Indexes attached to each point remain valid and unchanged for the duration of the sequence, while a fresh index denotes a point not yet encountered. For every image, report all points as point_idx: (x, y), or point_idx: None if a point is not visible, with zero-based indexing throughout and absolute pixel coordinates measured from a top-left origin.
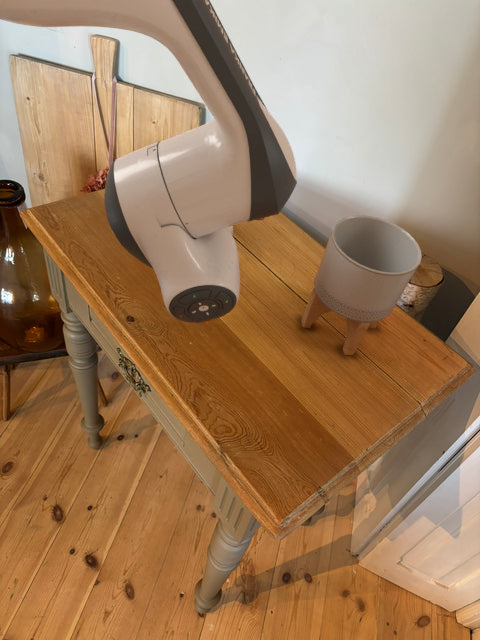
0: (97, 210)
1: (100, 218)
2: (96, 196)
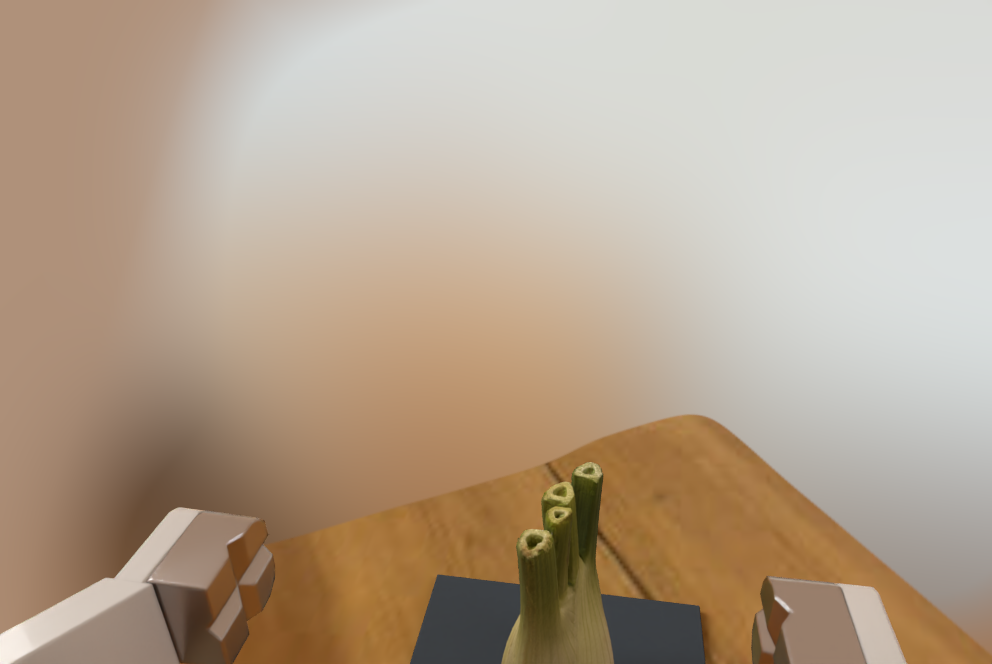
0: (268, 601)
1: (260, 642)
2: (294, 538)
